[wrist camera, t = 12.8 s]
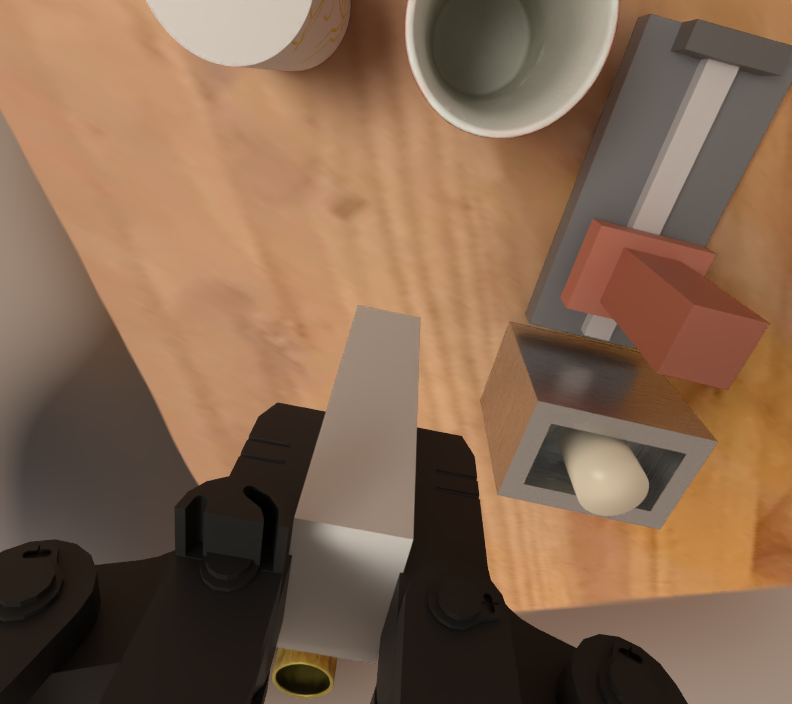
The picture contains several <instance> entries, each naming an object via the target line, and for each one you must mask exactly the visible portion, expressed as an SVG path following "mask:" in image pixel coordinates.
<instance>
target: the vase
mask: <svg viewBox="0 0 792 704" xmlns="http://www.w3.org/2000/svg"><path fill="white" fill-rule="evenodd" d="M337 658H338V657H332V656H326V655H320V654H314V653H308V652H303V651H297V650H291V649H285V648H279V650H278V653H277V657H276V661H275V666H274V670H273V678H272V680H273V683H274V685H275V686H276V687H277V688H278V689H279V690H280V691H282V692H284V693H285V694H287V695H290V696H293V697H298V698H306V699H309V698H318V697H321V696H324V695H326V694H327V693H329V692H330V691H331V689H332V688H333V685H334V678H335V671H336V664H337Z"/></svg>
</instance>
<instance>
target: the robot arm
mask: <svg viewBox="0 0 792 704" xmlns="http://www.w3.org/2000/svg"><path fill="white" fill-rule="evenodd" d="M419 347H420V317H415V316H410V315H405V314H400V313H395V312H390V311H386V310H381V309H376V308H371V307H366V306H361V305H358V307H357V310H356V313H355V317H354V320H353V323H352V327H351V330H350V333H349V337H348V340H347V343H346V347H345V350H344V353H343V357H342V360H341V363H340V367H339V370H338V373H337V377H336V380H335V383H334V387H333V390H332V393H331V397H330V400H329V403H328V407H327V410H326V412H324V411H319V410H314V409H309V408H304V407H298V406H293V405H288V404H283V403H276V404H275V405H274V406H272V407H271V408H269V409H268V410H267V411H265V412H264V413H263V414H261V415H260V416H259V417H258V419H257V421H256V423H255V425H254V427H253V429H252V431H251V433H250V435H249V439H248V440H247V441H246V443H245V445H244V447H243V449H242V451H241V455H240V457H239V458H238V460H237V462H236V464H235V466H234V468H233V470H232V472H231V474H230V476H228V477H224V478H219V479H215V480H211V481H206V482H205V483H203V484H201V485H199V486H197V487H196V488H194V489H192V490H190V491H188V492H187V493H186V495H185V496H184V497H183V498H182V499H181V500H180V501H179V503H178V504H177V505H176V506H175V550H174V551H172V552H169V553H167V554H164V555H161V556H159V557H154V558H149V559H145V560H138V561H129V562H120V563H110V564H102V565H94V562H93V559H92V557H91V555H90V554H89V553H88V552H86V551H85V550H84V549H82V548H81V547H80V546H78V545H77V544H74V543H69V542H65V541H60V540H44V541H33V542H28V543H25V544H22V545H19V546H16V547H13V548H11V549H7V550H5V551H2V552H1V553H0V704H264V701H265V697H266V693H267V689H268V681H269V674H270V668H271V664H272V660H273V657H274V653H275V649H276V647H279V648H285V649H291V650H297V651H303V652H308V653H314V654H320V655H326V656H332V657H338V658H344V659H349V660H356V661H361V662H367V663H373V664H375V663H376V660H377V657H378V654H379V660H378V673H377V684H376V687H375V690H374V694H373V697H372V700H371V703H370V704H688V703H687V702H686V700H685V698H684V697H683V695H682V693H681V692H680V690H679V688H678V687H677V685H676V684H675V682H674V681H673V680H672V679H671V677H670V676H669V675H668V673H667V672H666V671H665V670H664V669H663V667H662V666H661V664H660V663H658V662H657V661H656V660H655V659H654V658H653V657H651V656H650V655H649V654H648V653H646V652H645V651H644V650H643V649H642V648H641V647H639V646H637V645H635V644H632V643H631V642H628V641H626V640H624V639H622V638H620V637H616V636H609V635H602V634H598V635H595V636H592V637H589V638H586V639H583V641H582V642H581V643H580V645H579V646H578V648H575V647H573V646H571V645H569V644H567V643H565V642H563V641H561V640H559V639H557V638H555V637H553V636H551V635H549V634H547V633H545V632H543V631H541V630H539V629H537V628H535V627H534V626H532V625H530V624H529V623H527V622H525V621H524V620H522V619H521V618H520V617H518V616H517V615H516V614H515V613H514V612H513V611H512V610H511V609H509V608H508V607H507V605H506V604H505V602H504V599H503V596H502V594H501V593H500V592H499V590H498V589H497V588H496V586H495V585H494V584H493V582H492V581H491V579H490V575H489V571H488V565H487V556H486V548H485V539H484V531H483V523H482V514H481V506H480V499H479V489H478V481H476V480H477V472H476V464H475V456H474V454H473V453H472V451H471V450H470V448H469V447H468V445H467V444H466V442H465V440H464V439H463V437H462V436H459V435H453V434H448V433H443V432H438V431H433V430H427V429H422V428H417V409H418V378H419Z"/></svg>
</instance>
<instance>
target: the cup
mask: <svg viewBox="0 0 792 704" xmlns="http://www.w3.org/2000/svg"><path fill="white" fill-rule="evenodd" d="M146 1H147V3H148V5H149V7H150V9H151V10H152V12H153V14H154V15H155V17H156V18H157V20H158V21H159V22H160V24H161V25H162V26H163V27H164V29H165V30H166V31H167V32H168V33H169V34H170V35H171V36H172V37H173V38H174V39H175V40H176V41H177V42H178V43H179V44H181V45H182V46H183V47H184V48H186V49H187V50H189V51H190V52H192V53H193V54H195V55H197V56H199V57H201V58H203V59H205V60H207V61H210V62H213V63H216V64H220V65H226V66H235V67H246V68H258V69H269V70H281V71H303V70H307V69H311V68H313V67H315V66H317V65H319V64H321V63H322V62H324V61H325V60H326V59H328V58H329V57H330V56H331V55H332V54H333V53H334V51H335V50H336V49H337V47H338V46H339V44H340V43H341V41H342V39H343V37H344V35H345V32H346V29H347V26H348V22H349V18H350V10H351V0H146Z"/></svg>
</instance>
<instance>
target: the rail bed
mask: <svg viewBox="0 0 792 704" xmlns="http://www.w3.org/2000/svg"><path fill="white" fill-rule="evenodd" d="M791 83H792V46H791V45H788V44H784V43H781V42H777V41H774V40H770V39H767V38H763V37H759V36H756V35H752V34H749V33H745V32H742V31H738V30H735V29H731V28H728V27H724V26H720V25H717V24H713V23H710V22H706V21H703V20H699V19H696V20H692V21H688V22H683V23H681V22H678V21H674V20H671V19H667V18H663V17H660V16H656V15H653V14H649V15H646V16H642V17H639V18H638V20H637V23H636V26H635V28H634V31H633V34H632V36H631V39H630V41H629V44H628V47H627V49H626V52H625V54H624V57H623V60H622V62H621V65H620V68H619V70H618V73H617V75H616V78H615V81H614V83H613V86H612V88H611V91H610V94H609V96H608V99H607V101H606V104H605V107H604V109H603V112H602V115H601V117H600V120H599V122H598V125H597V128H596V130H595V133H594V135H593V138H592V141H591V143H590V146H589V149H588V151H587V154H586V156H585V159H584V162H583V164H582V167H581V169H580V172H579V175H578V177H577V180H576V182H575V185H574V188H573V190H572V193H571V196H570V198H569V201H568V203H567V206H566V209H565V211H564V214H563V216H562V219H561V222H560V224H559V227H558V230H557V232H556V235H555V237H554V240H553V243H552V245H551V248H550V250H549V253H548V256H547V258H546V261H545V264H544V266H543V269H542V271H541V274H540V277H539V279H538V282H537V284H536V287H535V290H534V292H533V295H532V297H531V300H530V303H529V305H528V308H527V311H526V313H525V314H526V316H527V319H528V321H529V323H530V324H533V325H537V326H541V327H545V328H550V329H554V330H558V331H562V332H567V333H571V334H575V335H579V336H583V337H588V338H592V339H596V340H600V341H605V342H609V343H613V344H617V345H622V346H626V347H630V348H634V349H637V348H636V347H635V346H634V344H633V343H632V342H631V341H630V339H629V338H628V337H627V336H626V334H625V333H624V332H623V331H622V329H621V328H620V327H619V326H618V324H617V323H616V322H615V321H614V319H610V318H605V317H601V316H597V315H593V314H589V313H584V312H580V311H576V310H572V309H568V308H566V306H565V305H564V303H563V302H562V300H561V298H560V297H561V294H562V292H563V290H564V287H565V285H566V282H567V280H568V277H569V275H570V272H571V270H572V268H573V265H574V263H575V260H576V258H577V255H578V253H579V251H580V248H581V246H582V243H583V241H584V238H585V236H586V234H587V231H588V229H589V226H590V224H591V221H592V219H593V218H594V219H598V220H602V221H606V222H610V223H614V224H617V225H621V226H625V227H629V228H633V229H637V230H641V231H645V232H649V233H653V234H657V235H661V236H665V237H669V238H673V239H677V240H681V241H685V242H689V243H693V244H697V245H701V246H703V247H705V246H706V244H707V242H708V240H709V238H710V236H711V234H712V233H713V231H714V229H715V227H716V225H717V223H718V221H719V219H720V217H721V215H722V214H723V212H724V210H725V208H726V206H727V204H728V202H729V200H730V198H731V196H732V195H733V193H734V191H735V189H736V187H737V185H738V183H739V181H740V179H741V177H742V176H743V174H744V172H745V170H746V168H747V166H748V164H749V162H750V160H751V158H752V157H753V155H754V153H755V151H756V149H757V147H758V145H759V143H760V141H761V140H762V138H763V136H764V134H765V132H766V130H767V128H768V126H769V124H770V122H771V121H772V119H773V117H774V115H775V113H776V111H777V109H778V107H779V105H780V103H781V102H782V100H783V98H784V96H785V94H786V92H787V90H788V88H789V86H790V84H791Z"/></svg>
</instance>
